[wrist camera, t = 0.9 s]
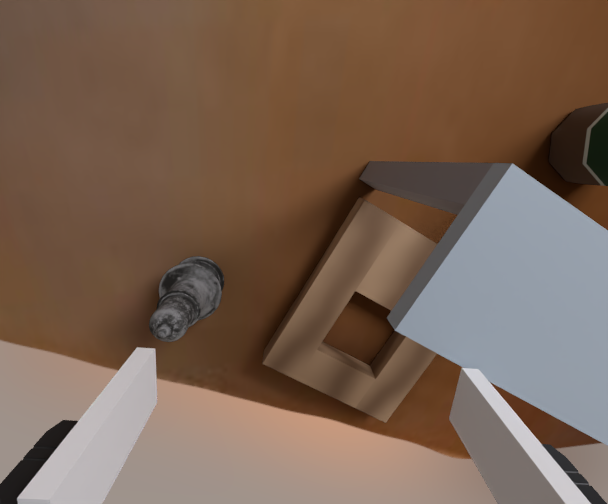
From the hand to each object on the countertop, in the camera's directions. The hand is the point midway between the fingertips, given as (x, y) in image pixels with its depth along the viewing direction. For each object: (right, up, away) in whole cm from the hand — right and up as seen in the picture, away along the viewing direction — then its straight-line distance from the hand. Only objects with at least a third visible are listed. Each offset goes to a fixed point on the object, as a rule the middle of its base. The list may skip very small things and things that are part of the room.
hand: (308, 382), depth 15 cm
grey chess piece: (-11, +3, +21) cm, 24 cm away
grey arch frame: (+12, +7, +21) cm, 26 cm away
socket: (+7, -1, +23) cm, 24 cm away
